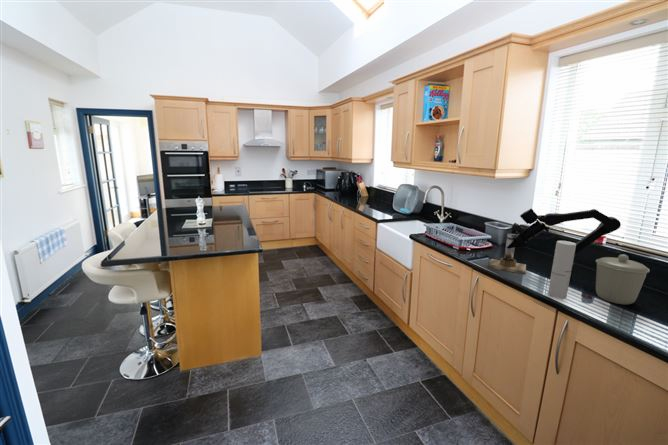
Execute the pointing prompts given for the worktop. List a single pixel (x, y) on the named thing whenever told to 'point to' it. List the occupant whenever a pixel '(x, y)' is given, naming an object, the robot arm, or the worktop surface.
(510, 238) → the steel tube
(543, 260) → the worktop surface
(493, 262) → the oak base board
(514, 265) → the wooden collar
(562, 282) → the cylindrical container
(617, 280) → the canister
